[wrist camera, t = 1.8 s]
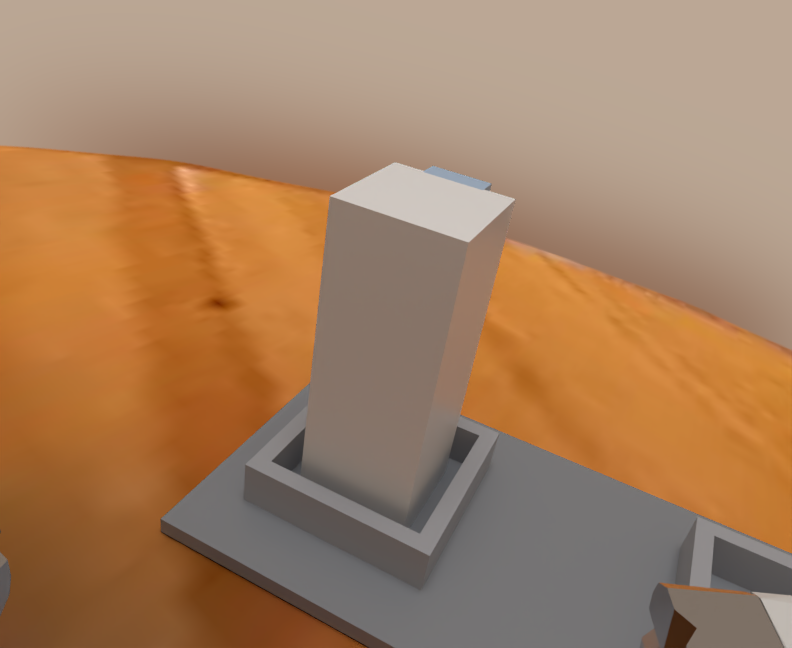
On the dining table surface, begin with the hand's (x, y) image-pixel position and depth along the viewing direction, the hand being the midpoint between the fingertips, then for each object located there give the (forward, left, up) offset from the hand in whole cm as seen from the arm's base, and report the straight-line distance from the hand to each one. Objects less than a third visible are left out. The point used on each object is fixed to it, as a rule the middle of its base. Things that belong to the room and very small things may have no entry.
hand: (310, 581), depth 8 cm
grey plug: (-4, +12, -11) cm, 17 cm away
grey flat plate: (+3, +12, -11) cm, 17 cm away
